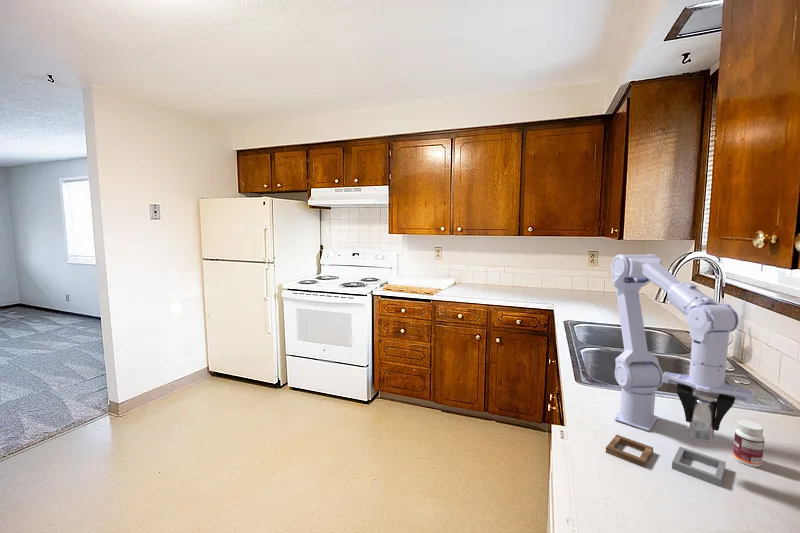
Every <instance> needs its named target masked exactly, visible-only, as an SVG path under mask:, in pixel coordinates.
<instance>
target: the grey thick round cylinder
mask: <svg viewBox="0 0 800 533" xmlns="http://www.w3.org/2000/svg"><path fill="white" fill-rule="evenodd" d="M716 407H717V399H715V398H712V397H710V396H707V395H704V394H703V395H701V394H693V396H692V407H691V419H690V423H689V430H688V432H689V435H690V436H692V437H693V438H695V439H697V440H700V441H705V442H706V441H707V442H710V441H711V442H712V441H714V438H715V430H714V423H715V418H716Z"/></svg>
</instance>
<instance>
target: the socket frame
mask: <svg viewBox="0 0 800 533" xmlns="http://www.w3.org/2000/svg"><path fill="white" fill-rule="evenodd" d="M620 445H623V446H624V445H625V446H627V447H629V448H632V449H635V450H638V451H639V452H642V453H641V455H640V456H638V455H634V454H632V453H629V452H627V451H624V450H621V449H619V448H618V446H620ZM605 453H606V454H609V455H611V456H614V457H616V458H618V459H621V460H624V461H627V462H629V463H631V464H635V465H637V466H640V467H642V468H645V467H646V465H647V464H648V462H649V460H650V458H651V457H652V455H653V453H654V447H653V446H649V445H648V444H644V443H641V442H638V441H637V440H633V439H630V438H627V437H625V436H622V435H620V434H615V436H614V437H612V439H611V441H610V442H609V443H608V444H607V445H606V447H605Z"/></svg>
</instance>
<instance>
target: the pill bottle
mask: <svg viewBox="0 0 800 533" xmlns="http://www.w3.org/2000/svg"><path fill="white" fill-rule="evenodd" d="M763 434H764V426H762V425H761V424H759V423H757V422H754V421H752V420H751V421H750V420H746V419H740V420H738V421H737V428H736V429H735V431H734V440H733V449H732V456H733V458H734V459H735V461H737V462H739V463H740V464H743V465H746V466H750V467H755V468H758V467H761V466H762V464H763V455H764V450H765V449H764V447H765V436H764V435H763Z"/></svg>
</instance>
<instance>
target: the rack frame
mask: <svg viewBox="0 0 800 533" xmlns="http://www.w3.org/2000/svg"><path fill="white" fill-rule="evenodd" d="M684 457H685V458H688V459H689V460H692V461H695V462H698V463H702V464H705V465H707V466H710V467H713V468H715V469H716V472H715V474H713V473H711V472H707V471H705V470H702V469H700V468H696V467H694V466H691V465H688V464H686V463H683V462H682V461H683V459H684ZM726 463H727V462H726V461H724V460H721V459H718V458H716V457H712V456H709V455H708V454H707V455H706V454H703V453H700V452H697V451H695V450H691V449H689V448H686V447H682V446H679V447H678V449H677V451H676V454H675V455H674V458H673V459H672V462H671V469H672V470H675V471H677V472H679V473H683V474H686V475H688V476H691V477H693V478H695V479H699V480H702V481H704V482H707V483H710V484H712V485H715V486H717V487H721V485H722V482H723V479H724V475H725V471H726V465H727V464H726Z"/></svg>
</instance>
